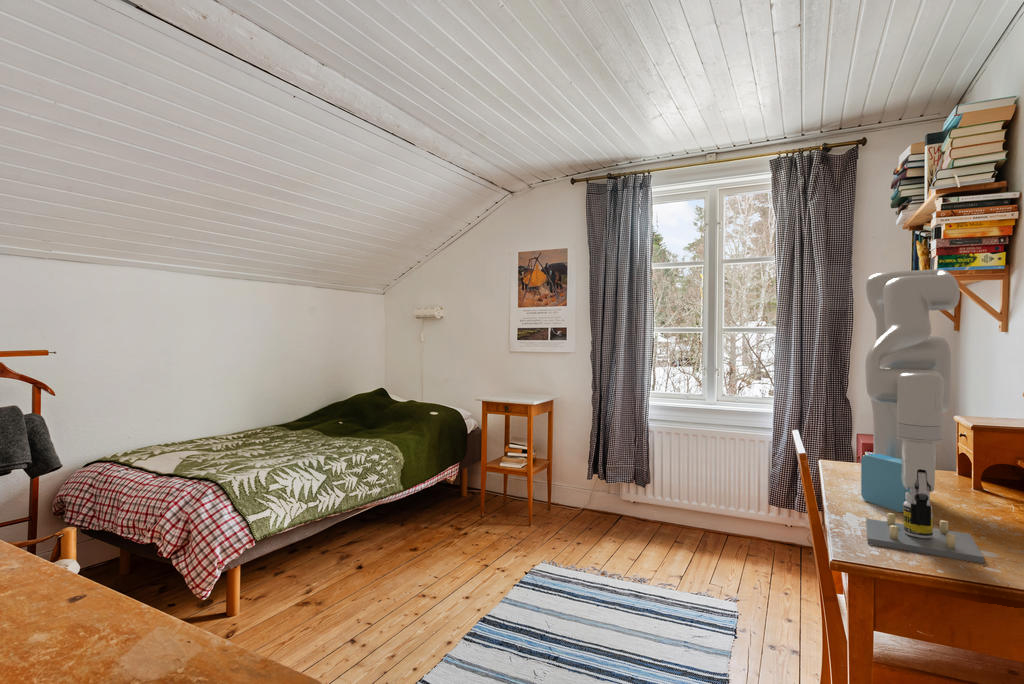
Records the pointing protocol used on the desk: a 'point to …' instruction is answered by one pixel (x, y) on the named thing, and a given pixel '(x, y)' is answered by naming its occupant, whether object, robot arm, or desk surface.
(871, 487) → the data package
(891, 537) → the chassis plate
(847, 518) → the desk surface
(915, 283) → the robot arm
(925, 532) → the supplement bottle
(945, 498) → the desk surface
